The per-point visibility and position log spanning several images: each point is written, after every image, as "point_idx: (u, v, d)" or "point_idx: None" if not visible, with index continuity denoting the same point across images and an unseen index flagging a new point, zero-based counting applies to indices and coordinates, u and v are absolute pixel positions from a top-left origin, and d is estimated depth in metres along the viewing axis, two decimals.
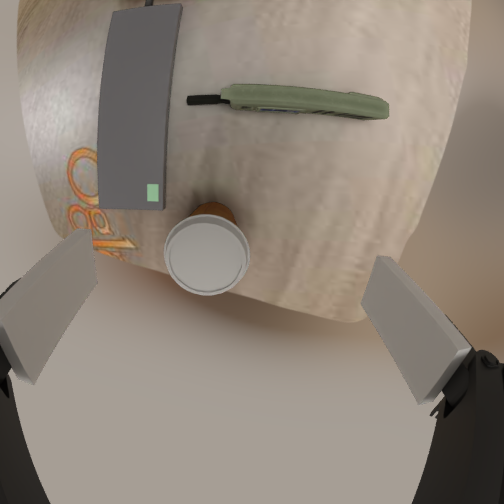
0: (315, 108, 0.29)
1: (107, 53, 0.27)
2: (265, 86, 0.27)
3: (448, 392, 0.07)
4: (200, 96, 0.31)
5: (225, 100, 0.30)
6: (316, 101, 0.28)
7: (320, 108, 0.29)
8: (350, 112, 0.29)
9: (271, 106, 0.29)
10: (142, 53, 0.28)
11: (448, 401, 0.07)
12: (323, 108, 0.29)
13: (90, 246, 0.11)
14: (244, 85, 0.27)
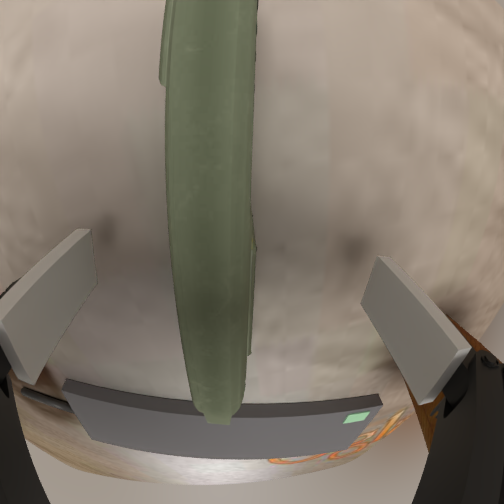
0: (246, 228, 0.09)
1: (149, 450, 0.23)
2: (190, 365, 0.11)
3: (448, 392, 0.07)
4: None
5: None
6: (219, 233, 0.08)
7: (245, 211, 0.08)
8: (250, 84, 0.07)
9: (245, 341, 0.11)
10: (147, 430, 0.21)
11: (448, 400, 0.07)
12: (244, 200, 0.08)
13: (90, 246, 0.11)
14: (194, 395, 0.12)
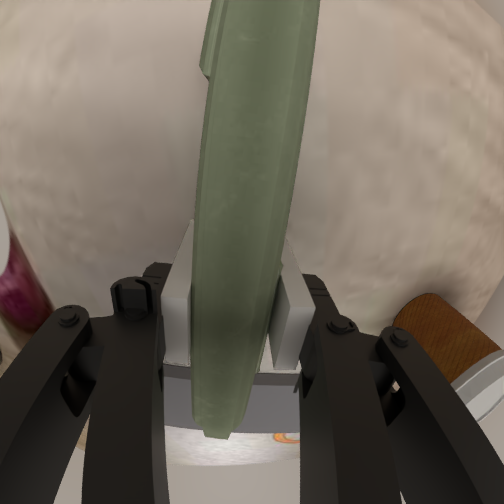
0: (280, 246, 0.08)
1: None
2: (196, 381, 0.10)
3: None
4: None
5: None
6: (252, 250, 0.08)
7: (282, 228, 0.08)
8: (306, 88, 0.06)
9: (258, 360, 0.10)
10: None
11: (305, 376, 0.08)
12: (283, 215, 0.07)
13: None
14: (196, 410, 0.11)
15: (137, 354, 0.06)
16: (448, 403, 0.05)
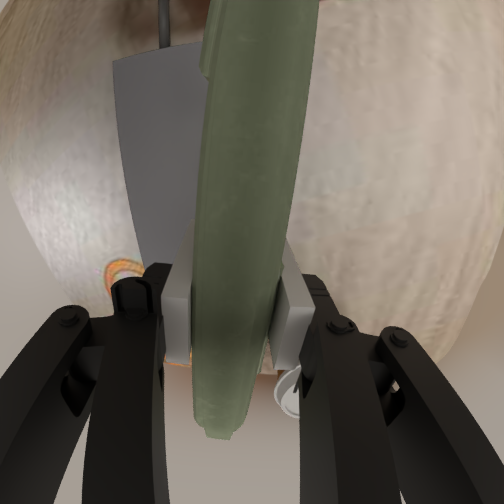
0: (281, 247, 0.08)
1: (121, 128, 0.22)
2: (198, 382, 0.10)
3: (301, 367, 0.08)
4: None
5: None
6: (252, 251, 0.07)
7: (283, 229, 0.08)
8: (305, 89, 0.06)
9: (259, 361, 0.10)
10: (177, 125, 0.23)
11: (305, 376, 0.08)
12: (284, 217, 0.07)
13: None
14: (197, 411, 0.11)
15: (137, 354, 0.06)
16: (448, 403, 0.05)
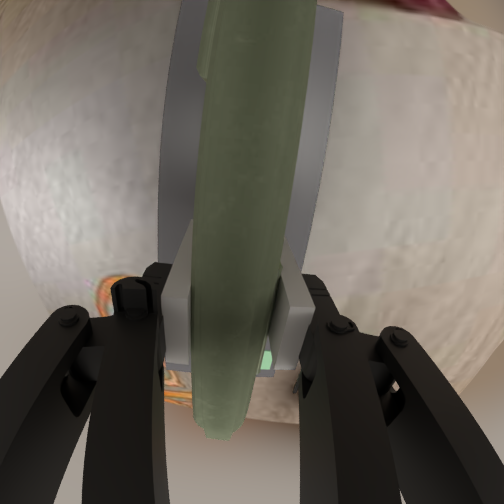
0: (279, 248, 0.08)
1: (173, 88, 0.14)
2: (197, 383, 0.10)
3: (301, 367, 0.08)
4: None
5: None
6: (251, 252, 0.07)
7: (281, 230, 0.08)
8: (303, 89, 0.06)
9: (258, 362, 0.10)
10: None
11: (305, 376, 0.08)
12: (282, 218, 0.07)
13: None
14: (197, 412, 0.11)
15: (137, 354, 0.06)
16: (448, 404, 0.05)
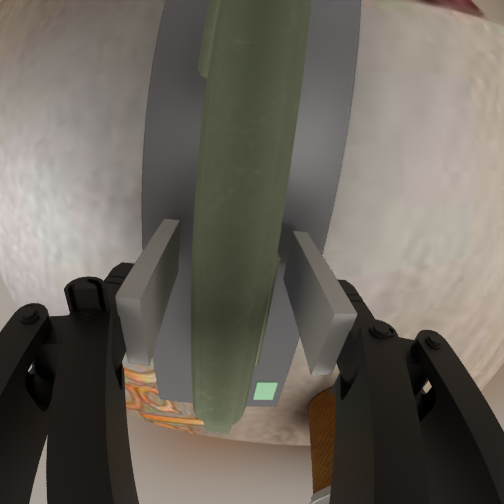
0: (276, 238, 0.08)
1: (157, 84, 0.11)
2: (197, 373, 0.10)
3: (340, 370, 0.08)
4: None
5: None
6: (249, 242, 0.08)
7: (278, 221, 0.08)
8: (298, 87, 0.06)
9: (257, 353, 0.11)
10: None
11: (343, 379, 0.08)
12: (278, 209, 0.08)
13: (178, 235, 0.13)
14: (197, 403, 0.11)
15: (91, 352, 0.05)
16: (475, 403, 0.04)
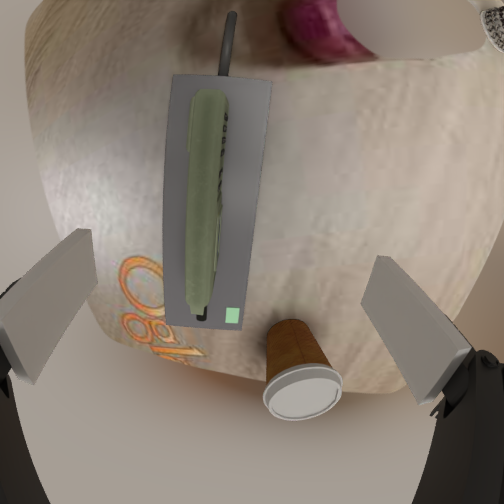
0: (215, 206, 0.23)
1: (170, 141, 0.26)
2: (187, 269, 0.25)
3: (448, 392, 0.07)
4: None
5: None
6: (204, 207, 0.23)
7: (215, 200, 0.23)
8: (218, 154, 0.21)
9: (213, 260, 0.25)
10: None
11: (448, 401, 0.07)
12: (214, 196, 0.23)
13: (90, 246, 0.11)
14: (186, 290, 0.26)
15: None
16: None
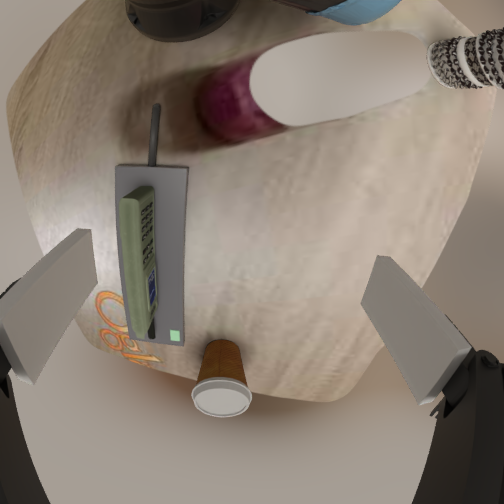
0: (142, 274, 0.33)
1: (118, 217, 0.36)
2: (130, 310, 0.35)
3: (448, 392, 0.07)
4: (148, 331, 0.43)
5: None
6: (135, 275, 0.33)
7: (141, 270, 0.33)
8: (139, 242, 0.31)
9: (146, 305, 0.36)
10: (154, 224, 0.37)
11: (448, 401, 0.07)
12: (140, 267, 0.33)
13: (89, 246, 0.11)
14: (132, 323, 0.36)
15: None
16: None
